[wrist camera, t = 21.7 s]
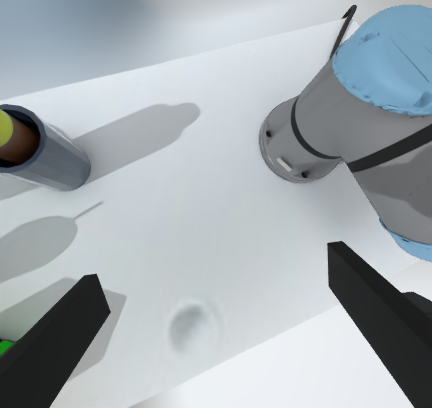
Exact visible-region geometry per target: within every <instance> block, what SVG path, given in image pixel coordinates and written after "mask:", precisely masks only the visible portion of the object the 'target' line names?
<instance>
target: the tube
mask: <svg viewBox="0 0 432 408" xmlns="http://www.w3.org/2000/svg"><path fill="white" fill-rule="evenodd" d="M0 109H1V110H3V111H4V112H6V113H7V114H9V115H10V116H12V117H13V118H15V119H16V120H18V121H20V122H21V123H23V124H24V125H26V126H27V127H29V128H30V129H32V130H33V131H35V132H36V133H38V134H39V135H41V137H40V144H39V148H38V149H37V151H36V152H35V154H34V155H33V157H32V158H30V159H29V160H28V161H26V162H25V163H23V164H22V165H17V164H15V163H12V162H10V161H7V160H4V159H2V158H0V174H1V175H5V176H8V177H11V178H15V179H18V180H22V181H25V182H28V183H32V184H35V185H38V186H42V187H45V188H49V189H52V190H57V191H70V190H74V189H76V188H78V187H80V186H81V185H82V184H83V183H84V182H85V181H86V180H87V178H88V176H89V173H90V162H89V159H88V157H87V155H86V154H85V153H84V152H83V151H82V150H81V149H80V148H79V147H77V146H76V145H75V144H74V143H72V142H71V141H70V140H68V139H67V138H66V137H64V136H63V135H62V134H61V133H59V132H58V131H57V130H55V129H54V128H53V127H52V126H50V125H49V124H48V123H46V122H45V121H44V120H42V119H41V118H40V117H39V116H37V115H36V114H35V113H33V112H32V111H30V110H28V109H26V108H24V107H22V106H16V105H8V104H3V105H0Z"/></svg>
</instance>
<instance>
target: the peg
mask: <svg viewBox="0 0 432 408" xmlns="http://www.w3.org/2000/svg"><path fill="white" fill-rule="evenodd" d="M40 137H41V135H39V134H38V133H36V132H35V131H33V130H32V129H30V128H29V127H27V126H26V125H24V124H23V123H21V122H20V121H18V120H16V119H15V118H13V117H12V116H10V115H9V114H7V113H6V112H4V111H3V110H1V109H0V158H2V159H4V160H7V161H10V162H12V163H15V164H17V165H22V164H23V163H25V162H26V161H28V160H29V159H30V158H32V157H33V155H34V154H35V152H36V151H37V149H38V148H39V144H40Z"/></svg>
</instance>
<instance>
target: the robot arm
mask: <svg viewBox="0 0 432 408" xmlns="http://www.w3.org/2000/svg"><path fill="white" fill-rule="evenodd" d="M356 8H357V6H356V5H353V6H351V7H350V8H349V10H348V11H347V12H346V13H345V15H344V16H343V17H342V18H341V19H344V18H347V19H346V21H345V23H344V25H343V27H342V29H341V31H340V34H339V36H338V38H337V40H336V43H335V45H334V48H333V51H332V53H331V57H330V60H329V61H328V62H327V63H326V65H325V66H324V67H323V68H322V69H321V70H320V72H319V73H318V74H317V75H316V76H315V77H314V79H313V80H312V81H311V82H310V83H309V84H308V86H307V87H306V88H305V89H304V90H303V91H302V93H301V94H300V95H298V96H296V97H294V98H292V99H290V100H288V101H286V102H283V103H281V104H280V105H278V106H277V107H275V108H274V109H273V110H272V111H271V113H270V114H269V115H268V117H267V118H266V119H265V121H264V123H263V125H262V127H261V131H260V137H259V143H260V149H261V153H262V156H263V158H264V160H265V162H266V163H267V165H268V166H269V167H270V169H271V170H272V171H273V172H274V173H276V174H277V175H278V176H280V177H281V178H283V179H285V180H288V181H291V182H295V183H307V182H311V181H314V180H317V179H320V178H322V177H324V176H326V175H327V174H328V173H330V172H331V171H332V170H333V169H334V167H335V166H336V165H337V164H338V163H339V162H340V161H341V160H342V159H343V160H344V161H345V163H346V164H347V166H348V167H349V169H350V171H351V173H352V174H353V176H354V177H355V179H356V181H357V182H358V184H359V185H360V187H361V189H362V190H363V192H364V193H365V195H366V197H367V198H368V200H369V201H370V203H371V205H372V206H373V208H374V209H375V211H376V213H377V214H378V216H379V220H380V222H381V224H382V226H383V227H384V228H385V229H386V230H387V231H388V232H389V233H390V234H391V236H392V237H393V239H394V240H395V242H396V243H397V244H398V245H399V246H400V247H401V248H402V249H403V250H404V251H406V252H407V253H409V254H410V255H412V256H415V257H417V258H419V259H423V260H425V261H429V262H432V8H427V7H424V6H420V5H400V6H395V7H390V8H387V9H385V10H382V11H380V12H378V13H377V14H375V15H373V16H372V17H370V18H369V19H368V20H367V21H366V22H364V23H363V24H362V25H361V26H360V28H359V29H358V30H357V31H356V32H355V33H354V34H353V35H352V36H351V37H350V38H349V39H348V40H346V41H344V42H343V43H342V44H341V45H340V46H339V44H340V42H341V39H342V37H343V35H344V33H345V31H346V28H347V26H348V24H349V22H350V20H351V19H352V17H353V15H354V13H355V11H356ZM327 246H328V279H329V287H330V289H331V290H332V292H333V293H334V294H335V296H336V297H337V299H338V300H339V302H340V303H341V304H342V306H343V307H344V309H345V310H346V311H347V313H348V314H349V316H350V317H351V319H352V320H353V321H354V323H355V324H356V326H357V327H358V328H359V330H360V331H361V333H362V334H363V336H364V337H365V338H366V340H367V341H368V343H369V344H370V345H371V347H372V348H373V350H374V351H375V353H376V354H377V355H378V357H379V358H380V359H381V361H382V362H383V364H384V365H385V367H386V368H387V370H388V371H389V372H390V374H391V375H392V376H393V378H394V379H395V381H396V382H397V384H398V385H399V387H400V388H401V389H402V391H403V392H404V393H405V395H406V396H407V398H408V399H409V401H410V402H411V404H412V405H413V406H414V408H432V301H430V300H428V299H426V298H424V297H422V296H420V295H418V294H416V293H414V292H406V293H401V292H400V291H399V290H397V289H396V288H395V287H394V286H393V285H392V284H390V283H389V282H388V281H387V280H386V279H385V278H384V277H383V276H381V275H380V274H379V273H378V272H377V271H376V270H375V269H373V268H372V267H371V266H370V265H369V264H368V263H367V262H365V261H364V260H363V259H362V258H361V257H360V256H359V255H357V254H356V253H355V252H354V251H353V250H352V249H351V248H349V247H348V246H347V245H346V244H345V243H344V242H343V241H339V242H331V243H327ZM110 313H111V311H110V309H109V306H108V303H107V301H106V298H105V295H104V292H103V290H102V287H101V284H100V281H99V279H98V276H97V274H91V275H84V276H83V277H82V278H81V279H80V280H79V281H78V282H77V283H76V284H75V285H74V286H73V287H72V288H71V289H70V290H69V291H68V292H67V293H66V294H65V295H64V296H63V297H62V298H61V299H60V300H59V301H58V302H57V303H56V304H55V305H54V306H53V307H52V308H51V309H50V310H49V311H48V312H47V313H46V314H45V315H44V316H43V317H42V318H41V319H40V320H39V321H38V322H37V323H36V324H35V325H34V326H33V327H32V328H31V329H30V330H29V331H28V332H27V333H26V334H25V335H24V336H23V337H22V338H21V339H19V340H18V341H17V342H15V343H14V344H13V345H11V346H10V347H9V348H8V349H6V350H5V351H4V352H3V353H2V354H1V355H0V408H49V407H50V406H51V404H52V403H53V401H54V400H55V398H56V397H57V395H58V393H59V392H60V390H61V389H62V387H63V386H64V384H65V383H66V381H67V379H68V378H69V376H70V375H71V373H72V372H73V370H74V369H75V367H76V365H77V364H78V362H79V361H80V359H81V358H82V356H83V355H84V353H85V351H86V350H87V348H88V347H89V345H90V344H91V342H92V341H93V339H94V337H95V336H96V334H97V333H98V331H99V330H100V328H101V327H102V325H103V323H104V322H105V320H106V319H107V317H108V316H109V314H110Z"/></svg>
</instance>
